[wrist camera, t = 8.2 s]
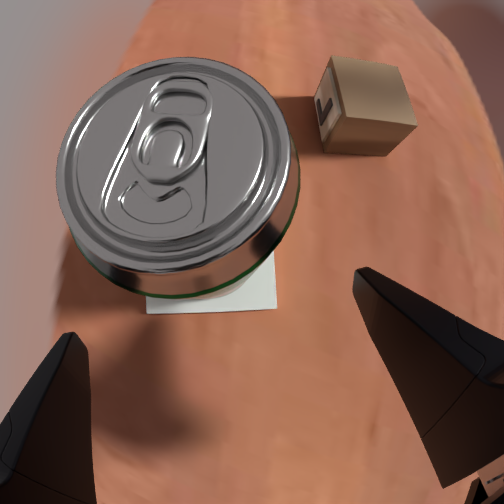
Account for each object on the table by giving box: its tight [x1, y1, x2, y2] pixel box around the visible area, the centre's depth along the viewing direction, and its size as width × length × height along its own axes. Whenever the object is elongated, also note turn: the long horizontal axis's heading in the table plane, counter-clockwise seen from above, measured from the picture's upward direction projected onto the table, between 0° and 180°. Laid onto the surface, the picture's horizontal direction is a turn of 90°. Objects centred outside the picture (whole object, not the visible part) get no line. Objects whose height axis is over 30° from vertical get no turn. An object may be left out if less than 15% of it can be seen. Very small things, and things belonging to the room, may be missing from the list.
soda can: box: [56, 57, 300, 299], centre depth 11 cm, size 5×5×12 cm
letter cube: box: [314, 55, 418, 156], centre depth 17 cm, size 4×5×4 cm
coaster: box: [146, 251, 277, 314], centre depth 17 cm, size 7×7×1 cm
